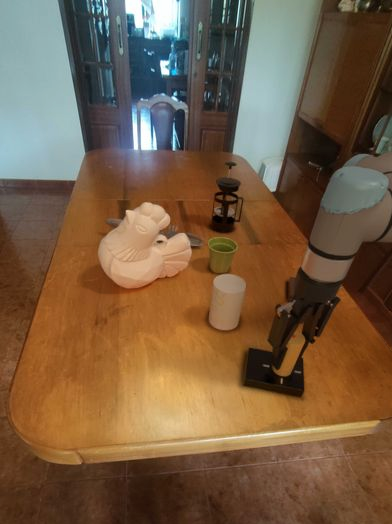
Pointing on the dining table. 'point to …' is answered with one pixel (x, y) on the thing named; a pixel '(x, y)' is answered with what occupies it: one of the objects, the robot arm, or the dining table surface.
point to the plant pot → (221, 253)
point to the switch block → (291, 287)
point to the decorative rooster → (143, 248)
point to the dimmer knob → (291, 354)
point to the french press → (226, 204)
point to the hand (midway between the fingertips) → (284, 362)
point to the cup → (226, 301)
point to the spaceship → (192, 238)
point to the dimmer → (272, 374)
